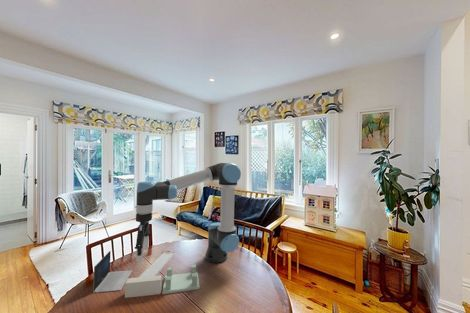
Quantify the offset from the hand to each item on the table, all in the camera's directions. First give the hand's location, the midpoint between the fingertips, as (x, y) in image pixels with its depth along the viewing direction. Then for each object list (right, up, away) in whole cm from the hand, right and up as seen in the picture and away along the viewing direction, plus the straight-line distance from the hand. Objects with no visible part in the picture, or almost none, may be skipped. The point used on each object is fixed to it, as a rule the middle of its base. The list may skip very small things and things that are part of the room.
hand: (142, 254), depth 100 cm
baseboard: (-2, -19, +24) cm, 31 cm away
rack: (+18, -18, +7) cm, 27 cm away
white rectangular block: (+1, -18, -2) cm, 18 cm away
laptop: (-19, -18, +7) cm, 27 cm away
